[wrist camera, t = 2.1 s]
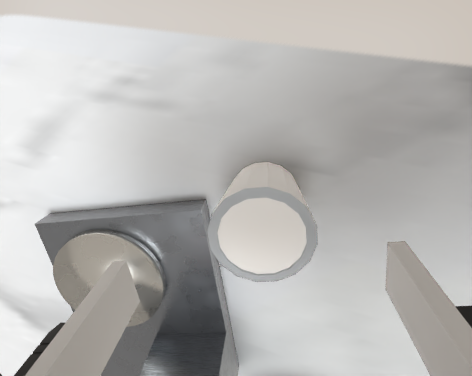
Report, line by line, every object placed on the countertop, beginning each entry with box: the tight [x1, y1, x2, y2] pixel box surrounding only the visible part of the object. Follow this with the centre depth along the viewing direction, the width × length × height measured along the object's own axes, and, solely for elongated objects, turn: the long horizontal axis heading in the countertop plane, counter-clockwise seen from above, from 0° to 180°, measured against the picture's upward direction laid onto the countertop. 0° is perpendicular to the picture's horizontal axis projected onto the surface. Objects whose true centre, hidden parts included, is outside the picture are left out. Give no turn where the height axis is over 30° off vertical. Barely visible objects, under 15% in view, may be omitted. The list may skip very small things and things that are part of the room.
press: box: [35, 200, 239, 376], centre depth 24 cm, size 15×20×14 cm
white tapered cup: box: [207, 162, 317, 282], centre depth 22 cm, size 7×7×7 cm
